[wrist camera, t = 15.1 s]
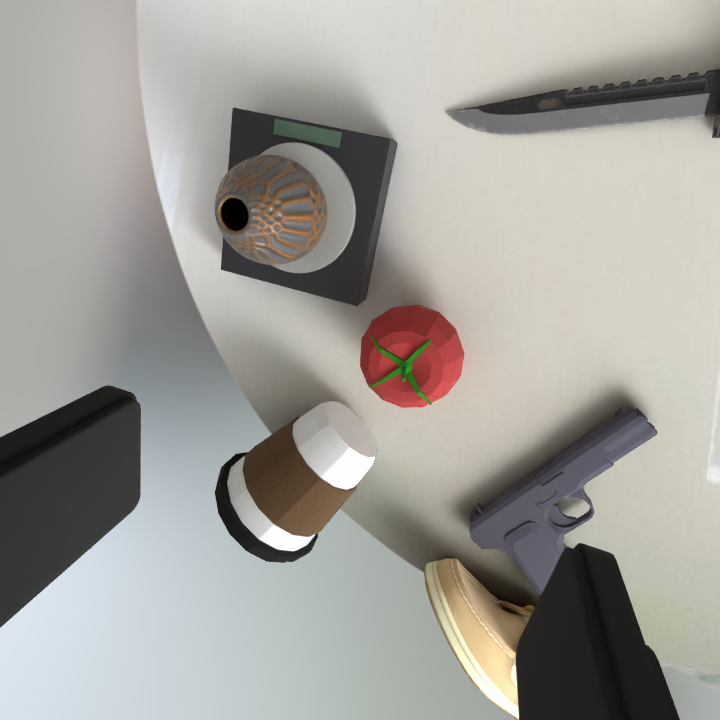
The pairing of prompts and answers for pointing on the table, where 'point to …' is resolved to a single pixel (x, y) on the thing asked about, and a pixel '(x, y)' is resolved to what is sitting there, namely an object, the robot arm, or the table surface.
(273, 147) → the scale
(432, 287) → the table surface
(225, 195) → the vase
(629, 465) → the table surface
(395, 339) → the tomato
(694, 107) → the knife
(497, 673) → the boat shoe
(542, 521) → the handgun
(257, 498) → the coffee cup
